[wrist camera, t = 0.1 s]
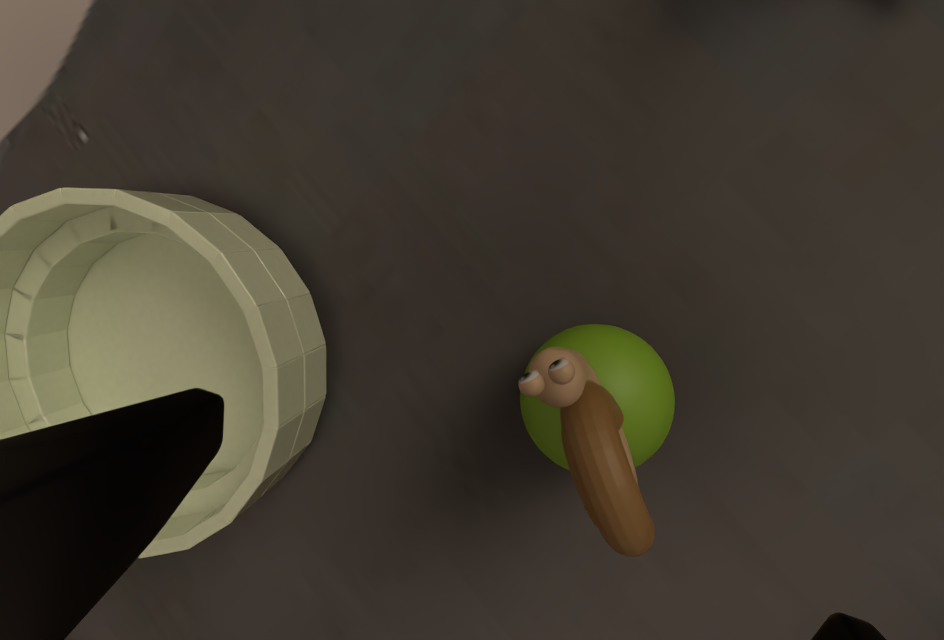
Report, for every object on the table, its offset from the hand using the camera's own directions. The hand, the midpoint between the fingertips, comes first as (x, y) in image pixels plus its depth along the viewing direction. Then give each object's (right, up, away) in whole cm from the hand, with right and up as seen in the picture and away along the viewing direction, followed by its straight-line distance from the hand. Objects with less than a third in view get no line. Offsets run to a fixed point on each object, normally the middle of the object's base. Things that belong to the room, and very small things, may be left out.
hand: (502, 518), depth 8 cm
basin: (-13, +1, +18) cm, 22 cm away
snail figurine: (+4, +1, +15) cm, 16 cm away
